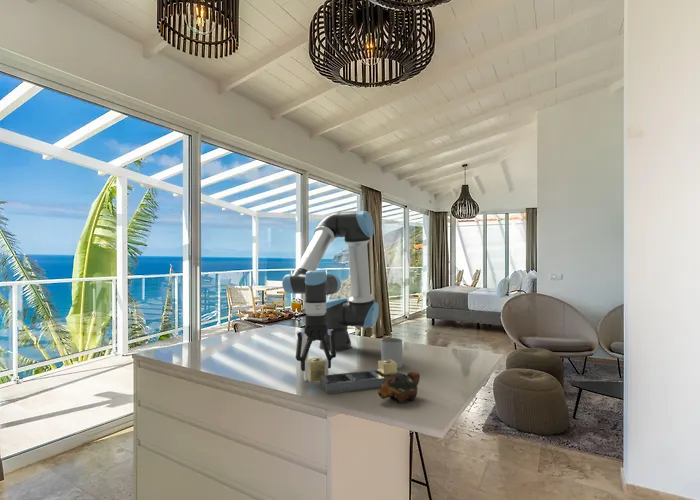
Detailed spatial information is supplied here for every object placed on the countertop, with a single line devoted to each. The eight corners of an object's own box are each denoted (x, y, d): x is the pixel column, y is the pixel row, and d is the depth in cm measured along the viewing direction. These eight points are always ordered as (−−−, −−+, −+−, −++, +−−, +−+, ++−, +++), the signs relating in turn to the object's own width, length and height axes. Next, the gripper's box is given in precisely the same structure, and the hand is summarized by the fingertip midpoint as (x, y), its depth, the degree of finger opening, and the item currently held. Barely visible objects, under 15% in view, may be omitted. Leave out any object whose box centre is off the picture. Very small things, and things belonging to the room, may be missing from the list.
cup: (401, 368, 153) (401, 342, 153) (380, 367, 155) (380, 342, 155) (403, 362, 162) (402, 338, 162) (383, 361, 163) (382, 337, 163)
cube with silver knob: (307, 378, 142) (307, 358, 142) (321, 376, 144) (321, 356, 144) (310, 382, 137) (310, 361, 137) (324, 381, 139) (324, 360, 139)
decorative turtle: (429, 398, 122) (428, 372, 121) (392, 413, 113) (391, 385, 113) (407, 388, 130) (406, 364, 129) (371, 401, 121) (370, 375, 120)
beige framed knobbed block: (378, 380, 139) (378, 359, 139) (391, 379, 141) (391, 358, 141) (383, 384, 134) (383, 363, 135) (397, 383, 136) (396, 362, 136)
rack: (320, 384, 135) (320, 375, 135) (394, 376, 144) (394, 368, 144) (327, 393, 126) (327, 384, 126) (406, 384, 135) (406, 375, 135)
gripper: (289, 317, 134) (290, 384, 134) (345, 314, 140) (345, 379, 140) (286, 313, 141) (286, 378, 141) (339, 311, 147) (339, 372, 147)
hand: (316, 378), depth 140 cm, fingers open, 7 cm apart
